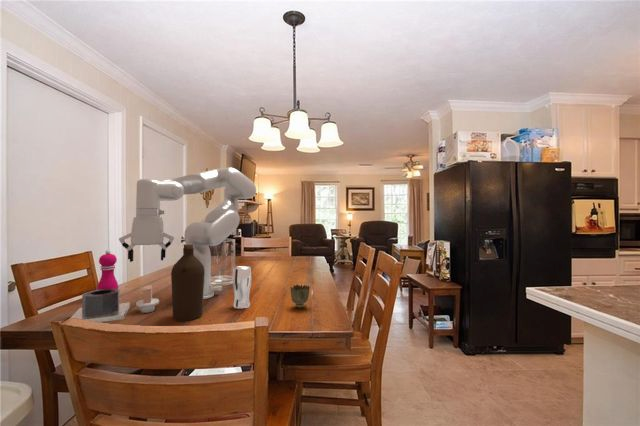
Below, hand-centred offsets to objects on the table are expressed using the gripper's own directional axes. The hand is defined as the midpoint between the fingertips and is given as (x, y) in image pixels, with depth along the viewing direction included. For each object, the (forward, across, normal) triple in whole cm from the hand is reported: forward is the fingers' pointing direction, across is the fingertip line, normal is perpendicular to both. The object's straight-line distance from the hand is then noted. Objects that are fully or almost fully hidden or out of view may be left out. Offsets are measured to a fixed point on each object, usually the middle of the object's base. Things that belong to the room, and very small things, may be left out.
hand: (147, 260), depth 108 cm
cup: (+18, -52, +19) cm, 59 cm away
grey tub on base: (+18, +14, -1) cm, 23 cm away
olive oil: (+18, -14, +12) cm, 26 cm away
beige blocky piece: (+18, 0, 0) cm, 18 cm away
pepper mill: (+18, +16, -24) cm, 34 cm away
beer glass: (+18, -32, +9) cm, 38 cm away
